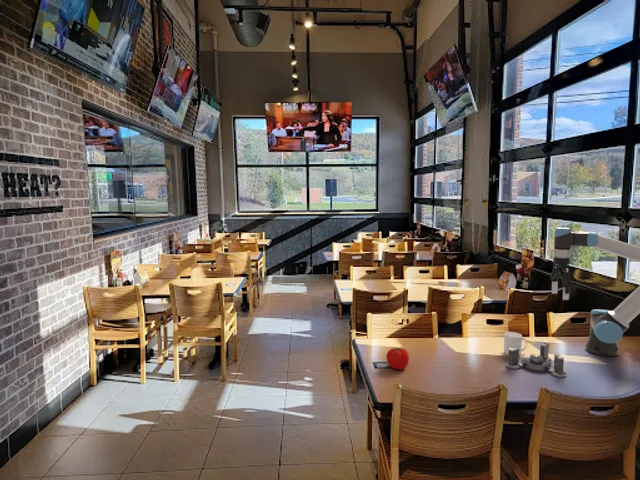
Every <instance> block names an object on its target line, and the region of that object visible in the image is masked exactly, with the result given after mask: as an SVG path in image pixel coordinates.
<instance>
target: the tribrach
mask: <svg viewBox="0 0 640 480" xmlns="http://www.w3.org/2000/svg"><path fill="white" fill-rule="evenodd" d="M505 366H506V368H508V369H512V370H520V369H525V370H528V371H531V372H534V373H549V374H550V375H551V376H553V377H555V378H566V377H567V372H566V371H565V370H563V374H558V373H557V372H556V371H555V370H554V368H552V358H551V357H549V356H548V358H546V359H545V360H543V357H542V356H540V354H537V353H536V354H530V355H529V357H524V358H522V359H521V362H519V363H517V364H515V365H512V366H511V365H508V361H507V362H505Z"/></svg>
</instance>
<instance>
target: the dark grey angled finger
mask: <svg viewBox="0 0 640 480" xmlns="http://www.w3.org/2000/svg"><path fill="white" fill-rule="evenodd" d="M508 350H509V352H508V355H507V356H508V357H507V359H508V360H507V362H508V365H511V366H512V365H515V364H517V363H520V362H519V361H520V359H519V358H520V357H519V356H520V355H519V348H516V347H515V348H509V349H508Z"/></svg>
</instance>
